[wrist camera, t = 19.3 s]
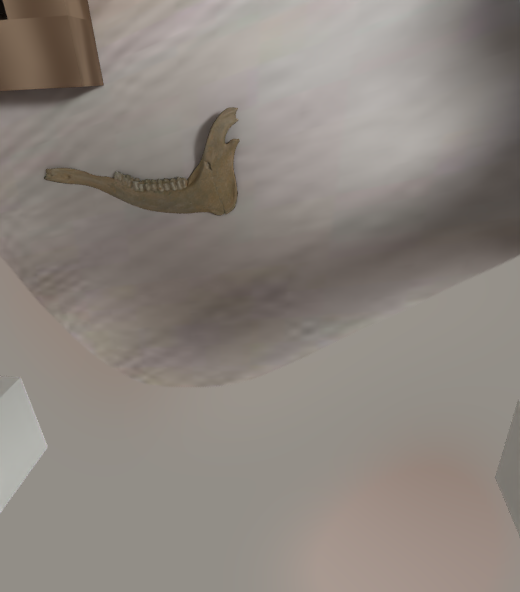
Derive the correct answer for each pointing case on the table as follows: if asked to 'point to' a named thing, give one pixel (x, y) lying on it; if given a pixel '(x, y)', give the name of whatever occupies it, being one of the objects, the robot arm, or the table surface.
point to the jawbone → (175, 192)
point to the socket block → (47, 45)
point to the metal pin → (2, 7)
